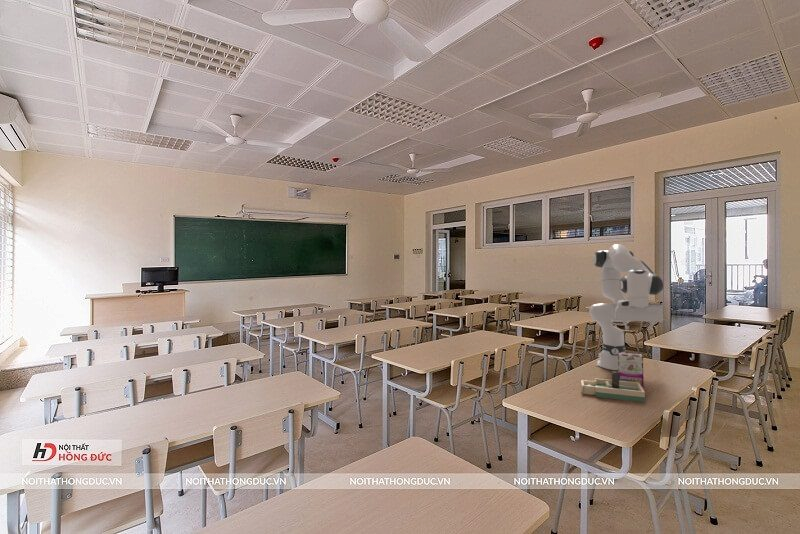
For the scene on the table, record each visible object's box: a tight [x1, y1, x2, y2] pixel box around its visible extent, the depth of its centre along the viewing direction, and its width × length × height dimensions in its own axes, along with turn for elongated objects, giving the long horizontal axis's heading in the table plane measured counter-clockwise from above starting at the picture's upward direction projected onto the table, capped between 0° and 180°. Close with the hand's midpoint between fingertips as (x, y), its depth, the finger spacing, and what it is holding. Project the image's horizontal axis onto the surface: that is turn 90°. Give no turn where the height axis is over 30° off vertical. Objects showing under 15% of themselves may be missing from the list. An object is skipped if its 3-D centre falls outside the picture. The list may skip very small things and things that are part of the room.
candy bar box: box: [617, 352, 645, 388], centre depth 192 cm, size 11×5×16 cm, turn 62°
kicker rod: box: [605, 370, 619, 389], centre depth 180 cm, size 5×6×8 cm
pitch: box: [580, 377, 646, 403], centre depth 180 cm, size 14×26×5 cm, turn 66°
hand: (638, 330), depth 180 cm, fingers open, 8 cm apart
